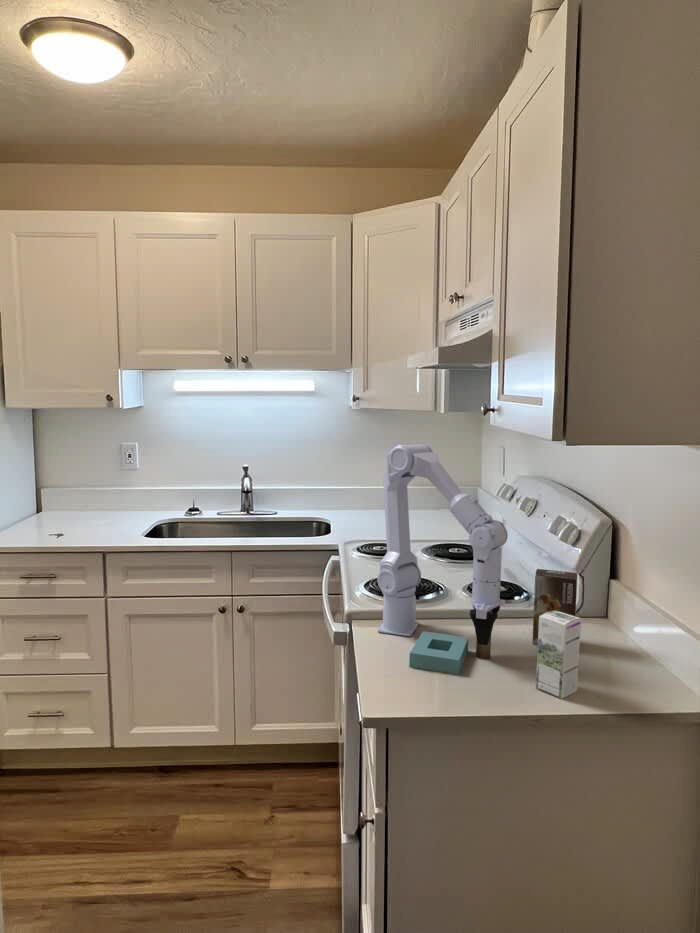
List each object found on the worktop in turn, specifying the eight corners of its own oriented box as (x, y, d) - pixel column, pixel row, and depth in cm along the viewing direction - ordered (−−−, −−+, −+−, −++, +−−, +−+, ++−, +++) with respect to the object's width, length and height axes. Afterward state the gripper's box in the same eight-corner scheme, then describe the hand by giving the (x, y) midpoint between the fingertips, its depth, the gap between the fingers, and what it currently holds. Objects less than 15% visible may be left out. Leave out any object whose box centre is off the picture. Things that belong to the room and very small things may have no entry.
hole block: (422, 644, 142) (423, 631, 142) (467, 650, 139) (468, 637, 139) (409, 667, 130) (409, 652, 130) (458, 674, 127) (459, 660, 126)
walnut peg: (476, 653, 138) (478, 608, 137) (491, 655, 137) (493, 609, 136) (475, 658, 135) (477, 612, 134) (489, 660, 134) (491, 614, 133)
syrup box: (578, 691, 121) (582, 616, 119) (561, 700, 117) (565, 623, 115) (551, 680, 125) (555, 608, 123) (534, 689, 121) (538, 614, 120)
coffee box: (575, 640, 146) (579, 572, 144) (574, 651, 140) (578, 579, 138) (533, 634, 149) (537, 567, 148) (530, 644, 143) (534, 574, 142)
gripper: (502, 590, 126) (499, 656, 128) (509, 572, 140) (506, 632, 141) (466, 586, 128) (464, 651, 130) (476, 568, 142) (473, 627, 143)
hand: (483, 641), depth 136 cm, fingers closed on walnut peg, 3 cm apart
